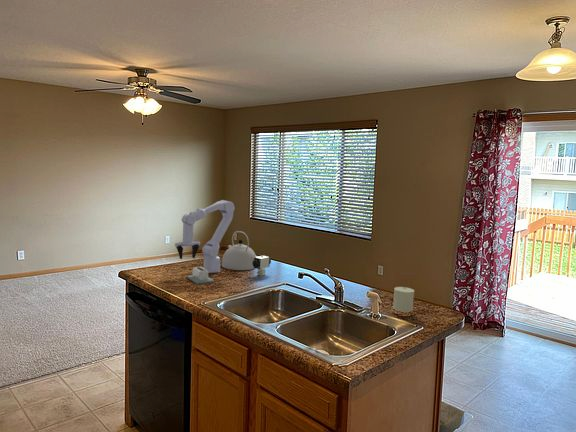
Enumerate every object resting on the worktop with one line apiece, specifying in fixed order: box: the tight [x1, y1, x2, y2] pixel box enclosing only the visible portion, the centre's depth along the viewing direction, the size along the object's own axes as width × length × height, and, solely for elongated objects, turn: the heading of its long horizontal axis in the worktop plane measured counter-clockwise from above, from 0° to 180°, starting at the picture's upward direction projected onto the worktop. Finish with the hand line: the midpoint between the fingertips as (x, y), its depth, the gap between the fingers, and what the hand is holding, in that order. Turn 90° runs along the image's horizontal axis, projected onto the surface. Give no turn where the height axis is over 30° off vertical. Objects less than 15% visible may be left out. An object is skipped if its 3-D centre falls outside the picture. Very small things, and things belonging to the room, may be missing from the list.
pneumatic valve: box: [252, 255, 272, 277], centre depth 258 cm, size 6×12×12 cm, turn 141°
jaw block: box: [192, 266, 209, 281], centre depth 240 cm, size 5×10×5 cm, turn 33°
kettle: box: [221, 230, 257, 271], centre depth 278 cm, size 25×23×23 cm
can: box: [392, 286, 415, 312], centre depth 202 cm, size 9×9×12 cm
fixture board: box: [186, 274, 215, 285], centre depth 240 cm, size 10×14×1 cm
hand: (187, 258), depth 249 cm, fingers open, 7 cm apart
